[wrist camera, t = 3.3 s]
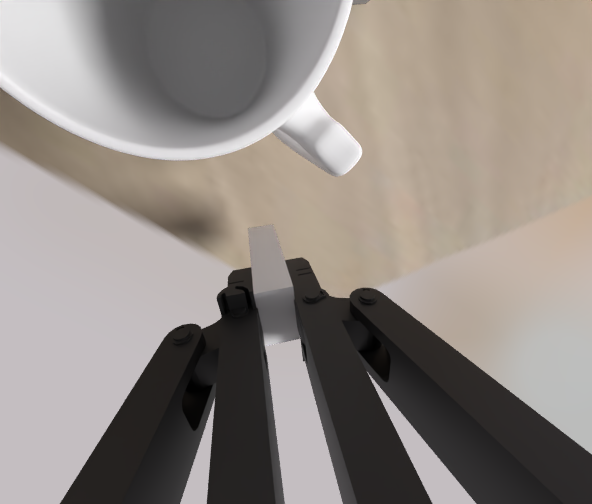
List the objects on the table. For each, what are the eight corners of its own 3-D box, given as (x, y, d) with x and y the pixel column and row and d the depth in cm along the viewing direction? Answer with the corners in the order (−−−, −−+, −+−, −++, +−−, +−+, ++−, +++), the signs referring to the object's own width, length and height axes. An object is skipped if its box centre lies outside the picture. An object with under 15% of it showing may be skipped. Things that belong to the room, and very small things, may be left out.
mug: (111, 56, 13) (-340, -141, 3) (191, -74, 12) (-147, -1423, 1) (265, 188, 18) (304, 297, 7) (337, 105, 16) (514, 93, 6)
